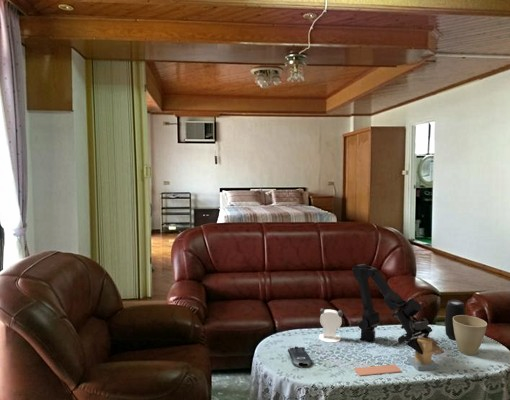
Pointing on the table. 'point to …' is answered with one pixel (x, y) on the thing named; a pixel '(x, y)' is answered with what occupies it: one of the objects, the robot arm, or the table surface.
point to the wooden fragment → (435, 347)
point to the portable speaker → (452, 310)
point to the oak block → (424, 351)
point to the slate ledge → (422, 365)
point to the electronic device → (299, 356)
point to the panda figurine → (330, 325)
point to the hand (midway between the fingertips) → (426, 352)
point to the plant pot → (469, 333)
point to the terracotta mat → (377, 370)
